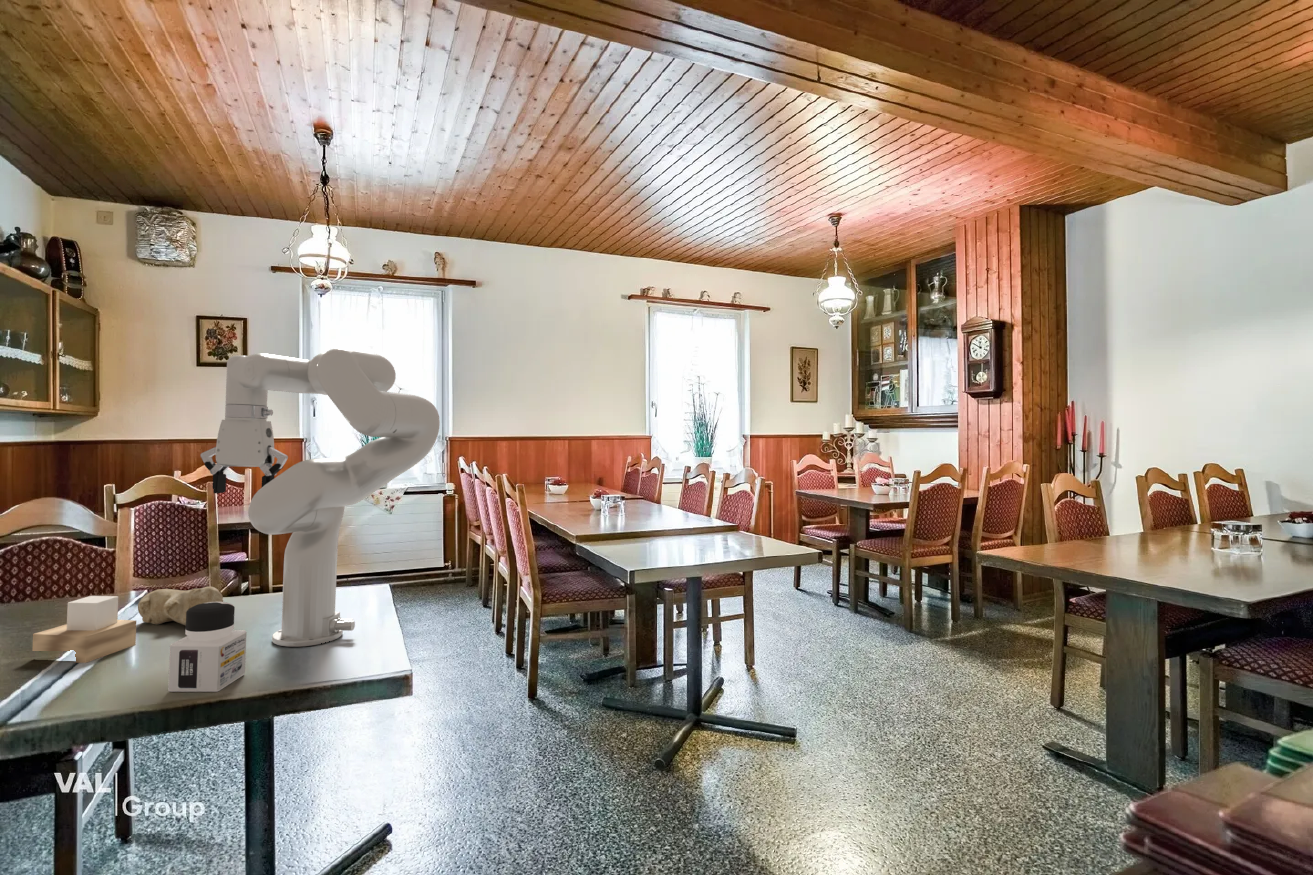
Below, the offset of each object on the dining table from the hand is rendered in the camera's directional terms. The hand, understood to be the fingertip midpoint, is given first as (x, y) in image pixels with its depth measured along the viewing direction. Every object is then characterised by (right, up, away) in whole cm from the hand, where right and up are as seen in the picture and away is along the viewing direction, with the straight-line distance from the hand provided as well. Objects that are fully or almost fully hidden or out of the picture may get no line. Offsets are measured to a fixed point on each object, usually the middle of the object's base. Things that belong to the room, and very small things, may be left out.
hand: (243, 493), depth 135 cm
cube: (-16, -23, -18) cm, 33 cm away
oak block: (-17, -28, -19) cm, 38 cm away
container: (+15, -29, -31) cm, 45 cm away
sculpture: (-13, -28, -1) cm, 31 cm away
